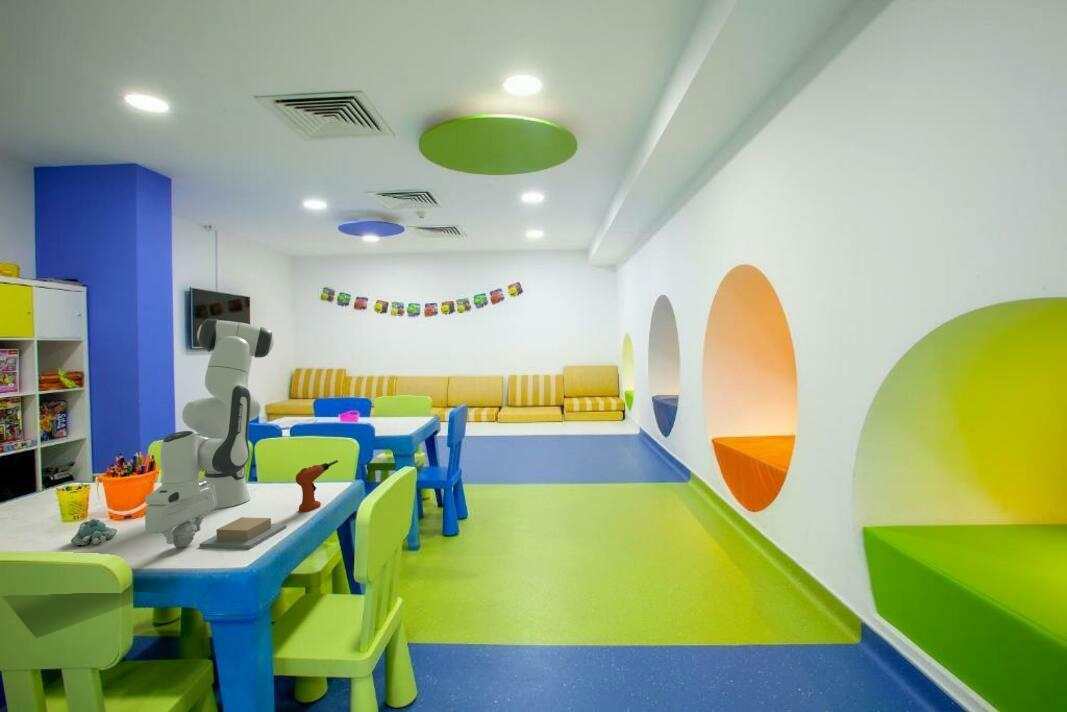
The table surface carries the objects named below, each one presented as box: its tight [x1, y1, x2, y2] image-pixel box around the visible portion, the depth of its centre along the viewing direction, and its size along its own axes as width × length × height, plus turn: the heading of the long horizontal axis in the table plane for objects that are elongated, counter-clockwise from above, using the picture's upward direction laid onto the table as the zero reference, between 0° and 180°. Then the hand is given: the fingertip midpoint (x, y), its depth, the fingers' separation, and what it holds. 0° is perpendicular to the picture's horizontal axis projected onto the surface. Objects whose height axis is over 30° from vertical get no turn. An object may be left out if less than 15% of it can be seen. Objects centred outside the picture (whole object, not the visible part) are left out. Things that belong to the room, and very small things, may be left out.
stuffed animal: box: [70, 518, 118, 547], centre depth 151 cm, size 11×7×12 cm
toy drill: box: [295, 459, 339, 513], centre depth 180 cm, size 5×19×15 cm, turn 156°
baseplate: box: [199, 517, 287, 550], centre depth 151 cm, size 16×16×4 cm
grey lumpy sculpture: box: [171, 520, 197, 548], centre depth 145 cm, size 6×7×7 cm
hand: (183, 537), depth 145 cm, fingers closed on grey lumpy sculpture, 7 cm apart
